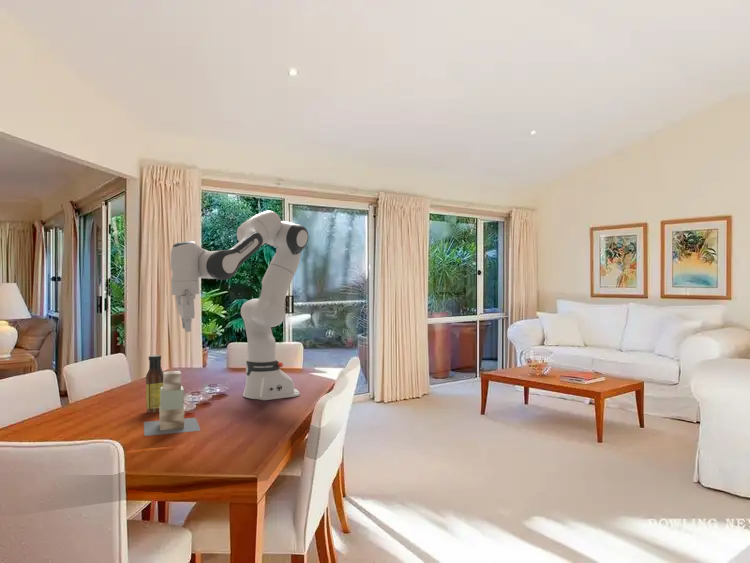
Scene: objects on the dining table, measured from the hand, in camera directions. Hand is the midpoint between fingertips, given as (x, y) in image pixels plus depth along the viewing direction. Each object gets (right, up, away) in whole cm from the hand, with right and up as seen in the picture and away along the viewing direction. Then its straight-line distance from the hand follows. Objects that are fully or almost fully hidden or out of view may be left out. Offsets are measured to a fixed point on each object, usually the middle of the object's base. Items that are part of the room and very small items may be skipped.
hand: (186, 330), depth 183 cm
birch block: (-1, -29, -12) cm, 32 cm away
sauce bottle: (-14, -30, +7) cm, 33 cm away
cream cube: (0, -17, -12) cm, 21 cm away
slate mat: (-1, -30, -12) cm, 32 cm away
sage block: (0, -23, -12) cm, 26 cm away
